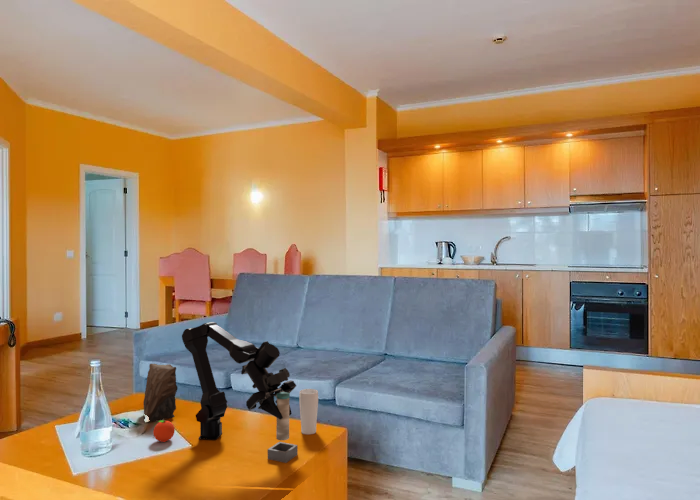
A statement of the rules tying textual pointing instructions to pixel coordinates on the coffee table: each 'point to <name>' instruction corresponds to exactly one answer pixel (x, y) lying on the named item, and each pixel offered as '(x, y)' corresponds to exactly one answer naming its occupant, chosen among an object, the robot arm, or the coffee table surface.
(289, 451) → the charcoal holder block
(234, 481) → the coffee table surface
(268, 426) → the coffee table surface
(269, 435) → the coffee table surface
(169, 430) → the tomato
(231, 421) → the coffee table surface
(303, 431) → the drinking glass
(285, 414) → the ivory peg
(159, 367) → the brown tree stump
